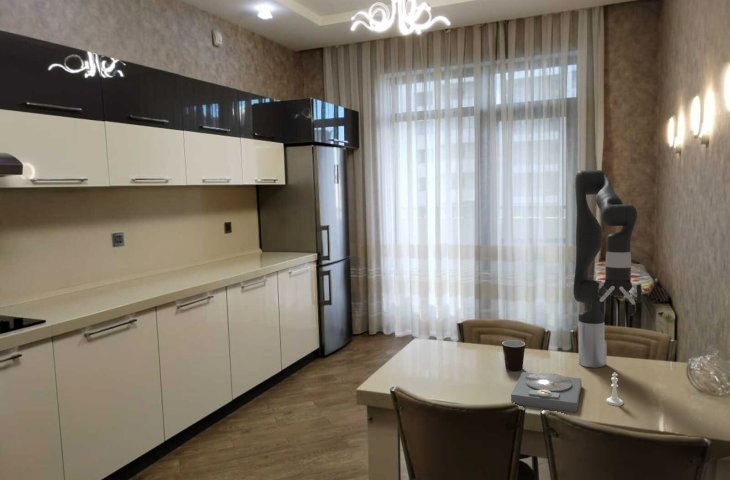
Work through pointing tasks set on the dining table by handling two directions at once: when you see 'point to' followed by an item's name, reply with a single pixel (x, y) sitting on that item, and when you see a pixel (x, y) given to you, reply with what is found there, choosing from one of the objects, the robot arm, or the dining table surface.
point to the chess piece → (614, 393)
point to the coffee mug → (513, 354)
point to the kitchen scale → (547, 391)
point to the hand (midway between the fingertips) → (617, 313)
